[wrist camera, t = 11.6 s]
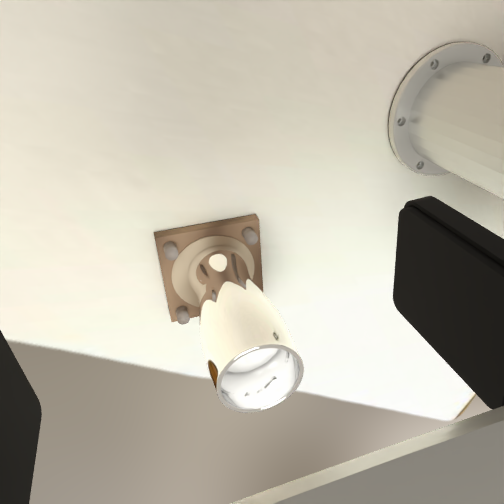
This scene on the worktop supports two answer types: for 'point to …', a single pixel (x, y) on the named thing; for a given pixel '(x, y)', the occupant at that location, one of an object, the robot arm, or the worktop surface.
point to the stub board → (194, 242)
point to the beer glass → (242, 334)
